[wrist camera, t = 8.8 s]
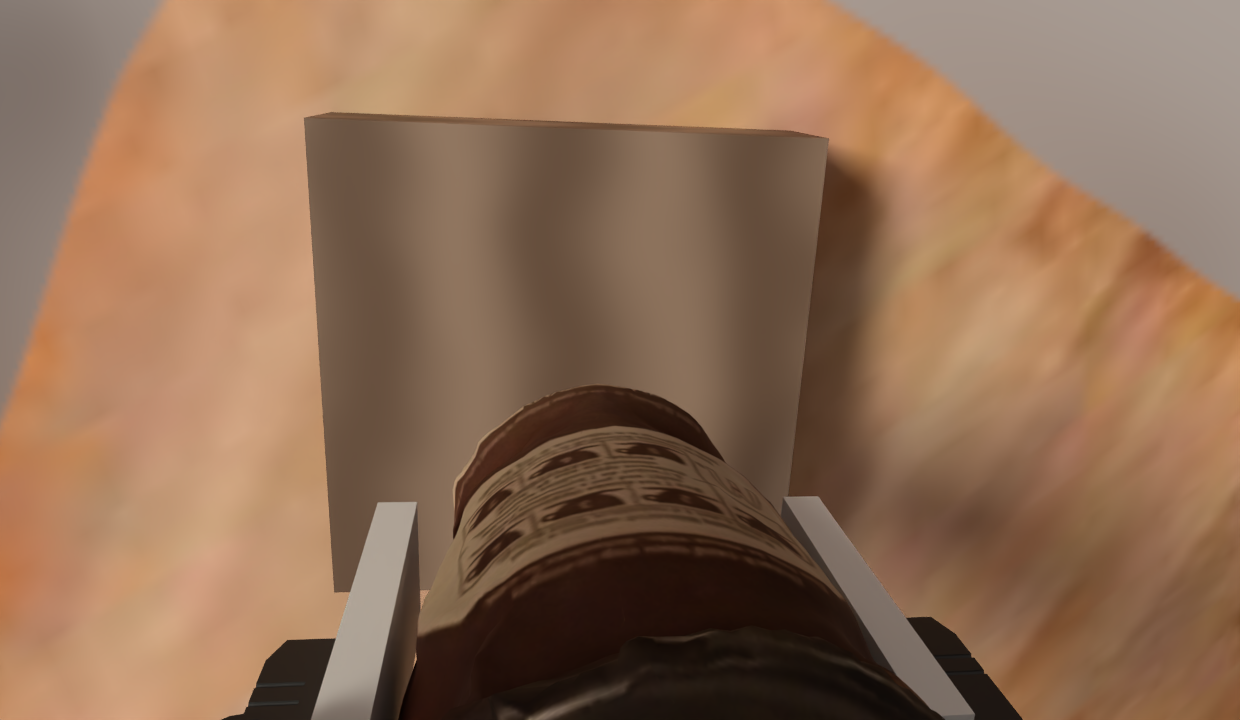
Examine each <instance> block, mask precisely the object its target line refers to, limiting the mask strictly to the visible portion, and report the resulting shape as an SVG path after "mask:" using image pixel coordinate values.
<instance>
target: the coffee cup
mask: <svg viewBox="0 0 1240 720" xmlns="http://www.w3.org/2000/svg"><path fill="white" fill-rule="evenodd" d="M452 490H453V502H454V527H453V539H454V540H453V542H452V544H451V546H450V547H449V549H448V551H447V553H446V556H445V558H444V561H443V562H442V564H441V566H440V567H439V570H438V572H437V575H436V577H435V580H434V582H433V585H432V587H431V589H430V591H429V592H428V594H427V596H426V597H425V599H424V602H423V606H422V609H421V611H420V614H419V618H418V626H417V640H416V655H417V661H416V663H415V666H414V669H413V671H412V674H411V677H410V680H409V683H408V686H407V689H406V692H405V694H404V698H403V701H402V705H401V709H400V713H399V718H398V720H945V719H944V718H943V717H942V716H941V715H940V714H939V713H937V712H936V711H934V710H931V709H930V708H929V706H928V705H927V704H926V703H925V702H924V701H923V700H922V699H921V698H920V697H919V696H918V695H917V694H916V693H915V692H914V691H913V690H912V689H911V688H910V687H909V686H908V685H907V684H906V683H904V682H903V681H902V680H901V679H900V678H899V677H898V676H896V675H895V674H893V673H892V672H890V671H889V670H887V669H886V668H884V667H882V666H880V665H879V664H877V663H876V662H875V660H874V658H873V657H872V655H871V653H870V651H869V648H868V646H867V643H866V641H865V638H864V636H863V634H862V631H861V629H860V627H859V625H858V622H857V620H856V618H855V616H854V614H853V612H852V610H851V608H850V606H849V605H848V603H847V601H846V599H845V598H844V597H843V596H842V595H841V594H840V593H839V592H838V591H837V589H836V588H835V587H834V586H833V584H832V583H831V582H830V581H829V579H828V578H827V576H826V575H825V573H824V572H823V571H822V569H821V568H820V567H819V566H818V564H817V563H816V562H815V561H814V560H813V559H812V558H811V557H810V555H809V554H808V552H807V551H806V549H805V548H804V547H803V546H802V545H801V544H800V542H799V541H798V540H797V539H796V538H795V537H794V536H793V534H792V532H791V530H790V528H789V527H788V526H787V524H786V523H785V522H784V520H783V519H782V518H781V516H780V515H779V513H778V512H777V511H776V509H775V508H774V506H773V505H772V504H771V502H770V501H769V500H767V499H766V498H765V497H764V496H763V495H762V494H761V493H760V492H759V491H758V490H757V489H756V488H755V487H754V486H753V485H752V484H751V483H750V482H749V481H748V480H747V479H746V478H745V477H744V476H743V475H742V474H741V473H739V472H738V471H736V470H735V469H733V468H732V467H730V466H729V465H727V464H726V462H725V461H724V459H723V457H722V456H721V454H720V453H719V451H718V450H717V449H716V447H715V446H714V444H713V443H712V442H711V440H710V439H709V437H708V436H707V434H706V433H705V431H704V430H703V428H702V427H701V425H700V424H699V423H698V422H697V421H696V420H695V419H694V418H693V417H692V416H691V415H690V414H689V413H687V412H686V411H685V410H683V409H682V408H680V407H679V406H677V405H675V404H674V403H672V402H670V401H668V400H666V399H664V398H662V397H660V396H657V395H655V394H650V393H647V392H644V391H640V390H635V389H630V388H626V387H619V386H614V385H608V384H591V385H584V386H579V387H574V388H571V389H567V390H562V391H558V392H555V393H552V394H550V395H547V396H545V397H542V398H540V399H538V400H536V401H534V402H532V403H530V404H527V405H525V406H523V407H522V408H520V409H519V410H518V411H516V412H515V413H514V414H512V415H511V416H510V417H508V418H507V419H506V420H505V421H504V422H502V423H501V424H500V425H498V426H497V427H495V428H494V429H492V430H491V431H489V432H488V433H487V434H486V435H485V436H484V437H482V439H481V440H480V441H479V442H478V445H477V448H476V450H475V452H474V454H473V455H472V457H471V459H470V460H469V462H468V463H467V464H466V465H465V466H464V468H463V470H462V472H461V473H460V474H459V475H458V476H457V477H456V479H455V482H454V486H453V489H452Z"/></svg>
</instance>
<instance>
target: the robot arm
mask: <svg viewBox="0 0 1240 720" xmlns="http://www.w3.org/2000/svg"><path fill="white" fill-rule="evenodd" d="M781 518H782V519H783V520H784V522H785V523H786V524H787V526H788V527H789V528H790V530H791V532H792V534H793V536H794V537H795V538H796V539H797V540H798V541H799V542H800V544H801V545H802V546H803V547H804V548H805V549H806V551H807V552H808V554H809V555H810V557H811V558H812V559H813V560H814V561H815V562H816V563H817V564H818V566H819V567H820V568H821V569H822V571H823V572H824V573H825V575H826V576H827V578H828V579H829V581H830V582H831V583H832V584H833V586H834V587H835V588H836V589H837V591H838V592H839V593H840V594H841V595H842V596H843V597H844V598H845V599H846V601H847V603H848V605H849V606H850V608H851V610H852V612H853V614H854V616H855V618H856V620H857V622H858V625H859V627H860V629H861V631H862V634H863V636H864V638H865V641H866V643H867V646H868V648H869V651H870V653H871V655H872V657H873V658H874V660H875V662H876V663H877V664H879V665H880V666H882V667H884V668H886V669H887V670H889V671H890V672H892V673H893V674H895V675H896V676H898V677H899V678H900V679H901V680H902V681H903V682H904V683H906V684H907V685H908V686H909V687H910V688H911V689H912V690H913V691H914V692H915V693H916V694H917V695H918V696H919V697H920V698H921V699H922V700H923V701H924V702H925V703H926V704H927V705H928V706H929V708H930V709H931V710H934V711H936V712H937V713H939V714H940V715H941V716H942V717H943V718H944V719H945V720H1023V719H1022V718H1021V717H1020V715H1019V714H1018V713H1017V712H1016V710H1015V709H1014V708H1013V706H1012V705H1011V704H1010V703H1009V701H1008V700H1007V699H1006V698H1005V696H1004V695H1003V694H1002V692H1001V691H1000V690H999V689H998V687H997V686H996V685H995V684H994V682H993V681H992V680H991V679H990V677H989V676H988V675H987V674H984V670H983V668H982V667H981V666H980V665H979V663H978V662H977V661H976V659H975V658H972V657H971V653H970V652H969V651H968V649H967V648H966V647H965V646H964V644H963V643H962V642H961V640H960V639H959V638H958V637H957V635H956V634H955V633H953V632H952V631H950V630H949V629H947V628H946V627H945V626H943V625H942V624H940V623H939V622H937V621H936V620H935V619H933V618H932V617H914V618H905V616H904V615H903V613H902V612H901V611H900V609H899V608H898V606H897V605H896V604H895V602H894V601H893V600H892V598H891V597H890V595H889V594H888V593H887V591H886V590H885V588H884V587H883V586H882V584H881V583H880V581H879V580H878V579H877V577H876V576H875V575H874V573H873V572H872V570H871V569H870V568H869V566H868V565H867V563H866V562H865V561H864V559H863V558H862V557H861V555H860V554H859V552H858V551H857V550H856V548H855V547H854V545H853V544H852V543H851V541H850V540H849V538H848V537H847V536H846V534H845V533H844V532H843V530H842V529H841V527H840V526H839V525H838V523H837V522H836V520H835V519H834V518H833V516H832V515H831V513H830V512H829V511H828V509H827V508H826V507H825V505H824V504H823V502H822V501H821V500H820V498H819V497H818V496H801V497H783V501H782V510H781ZM419 614H420V577H419V544H418V511H417V502H378V504H377V507H376V510H375V513H374V517H373V520H372V523H371V526H370V530H369V533H368V536H367V539H366V543H365V546H364V549H363V552H362V556H361V559H360V562H359V565H358V569H357V572H356V575H355V578H354V582H353V585H352V588H351V591H350V595H349V598H348V601H347V604H346V607H345V611H344V614H343V617H342V620H341V624H340V627H339V630H338V633H337V637H336V639H306V640H287V641H286V642H285V643H284V644H283V645H282V646H281V647H280V648H279V649H278V650H276V651H275V652H274V653H273V654H272V655H271V656H270V657H269V658H268V659H267V660H266V662H265V664H264V666H263V669H262V671H261V674H260V676H259V678H258V681H257V683H256V688H254V690H253V693H252V695H251V698H250V700H249V705H248V707H246V710H245V712H244V714H240V715H234V716H229V717H227V718H224V719H222V720H398V718H399V713H400V709H401V705H402V701H403V698H404V694H405V692H406V689H407V686H408V683H409V680H410V677H411V674H412V671H413V665H414V659H415V653H416V640H417V626H418V618H419Z"/></svg>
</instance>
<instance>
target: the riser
mask: <svg viewBox="0 0 1240 720" xmlns="http://www.w3.org/2000/svg"><path fill="white" fill-rule="evenodd" d="M304 125H305V141H306V157H307V172H308V188H309V204H310V219H311V235H312V251H313V266H314V282H315V298H316V313H317V329H318V345H319V360H320V376H321V392H322V407H323V423H324V439H325V454H326V470H327V486H328V501H329V517H330V533H331V548H332V564H333V580H334V592H350V591H351V588H352V585H353V582H354V578H355V575H356V572H357V569H358V565H359V562H360V559H361V556H362V552H363V549H364V546H365V543H366V539H367V536H368V533H369V530H370V526H371V523H372V520H373V517H374V513H375V510H376V507H377V504H378V502H417V511H418V544H419V577H420V590H430V589H431V587H432V585H433V582H434V580H435V577H436V575H437V572H438V570H439V567H440V566H441V564H442V562H443V561H444V558H445V556H446V553H447V551H448V549H449V547H450V546H451V544H452V542H453V540H454V539H453V527H454V502H453V490H452V489H453V486H454V482H455V479H456V477H457V476H458V475H459V474H460V473H461V472H462V470H463V468H464V466H465V465H466V464H467V463H468V462H469V460H470V459H471V457H472V455H473V454H474V452H475V450H476V448H477V445H478V442H479V441H480V440H481V439H482V437H484V436H485V435H486V434H487V433H488V432H489V431H491V430H492V429H494V428H495V427H497V426H498V425H500V424H501V423H502V422H504V421H505V420H506V419H507V418H508V417H510V416H511V415H512V414H514V413H515V412H516V411H518V410H519V409H520V408H522V407H523V406H525V405H527V404H530V403H532V402H534V401H536V400H538V399H540V398H542V397H545V396H547V395H550V394H552V393H555V392H558V391H562V390H567V389H571V388H574V387H579V386H584V385H591V384H608V385H614V386H619V387H626V388H630V389H635V390H640V391H644V392H647V393H650V394H655V395H657V396H660V397H662V398H664V399H666V400H668V401H670V402H672V403H674V404H675V405H677V406H679V407H680V408H682V409H683V410H685V411H686V412H687V413H689V414H690V415H691V416H692V417H693V418H694V419H695V420H696V421H697V422H698V423H699V424H700V425H701V427H702V428H703V430H704V431H705V433H706V434H707V436H708V437H709V439H710V440H711V442H712V443H713V444H714V446H715V447H716V449H717V450H718V451H719V453H720V454H721V456H722V457H723V459H724V461H725V462H726V464H727V465H729V466H730V467H732V468H733V469H735V470H736V471H738V472H739V473H741V474H742V475H743V476H744V477H745V478H746V479H747V480H748V481H749V482H750V483H751V484H752V485H753V486H754V487H755V488H756V489H757V490H758V491H759V492H760V493H761V494H762V495H763V496H764V497H765V498H766V499H767V500H769V501H770V502H771V504H772V505H773V506H774V508H775V509H776V511H777V512H778V513H779V515H780V516H781V510H782V501H783V497H788V493H789V484H790V476H791V467H792V458H793V449H794V441H795V432H796V423H797V414H798V406H799V397H800V388H801V379H802V370H803V362H804V353H805V344H806V335H807V327H808V318H809V309H810V300H811V292H812V283H813V274H814V265H815V257H816V248H817V239H818V230H819V222H820V213H821V204H822V195H823V186H824V178H825V169H826V160H827V151H828V143H829V138H824V137H819V136H814V135H809V134H804V133H799V132H794V131H781V130H756V129H731V128H707V127H682V126H657V125H632V124H607V123H582V122H558V121H533V120H508V119H483V118H458V117H433V116H409V115H384V114H359V113H334V112H330V113H325V114H321V115H316V116H311V117H306V118H304Z"/></svg>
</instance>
